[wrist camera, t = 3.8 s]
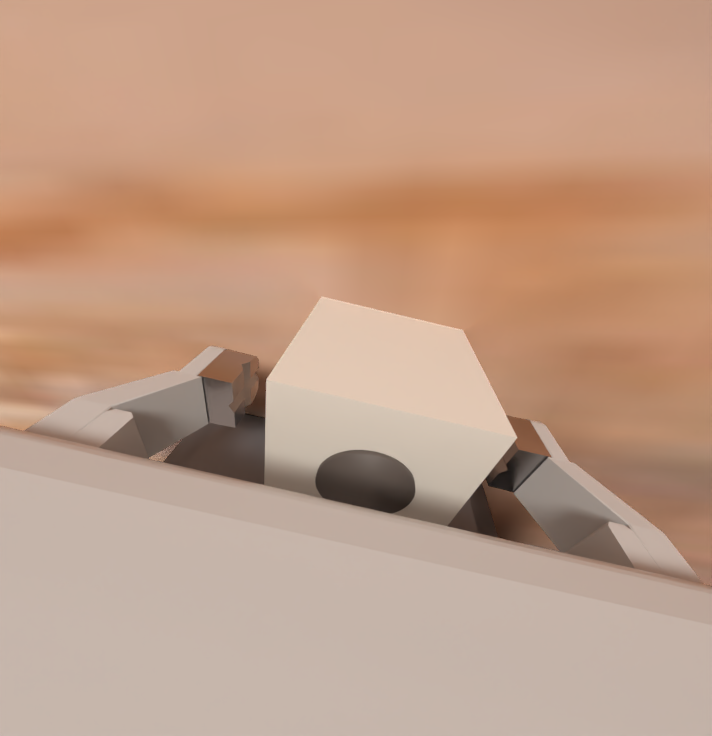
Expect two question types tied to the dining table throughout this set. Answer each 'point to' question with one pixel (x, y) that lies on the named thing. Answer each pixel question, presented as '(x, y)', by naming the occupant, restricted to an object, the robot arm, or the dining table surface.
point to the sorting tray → (247, 462)
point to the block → (382, 414)
